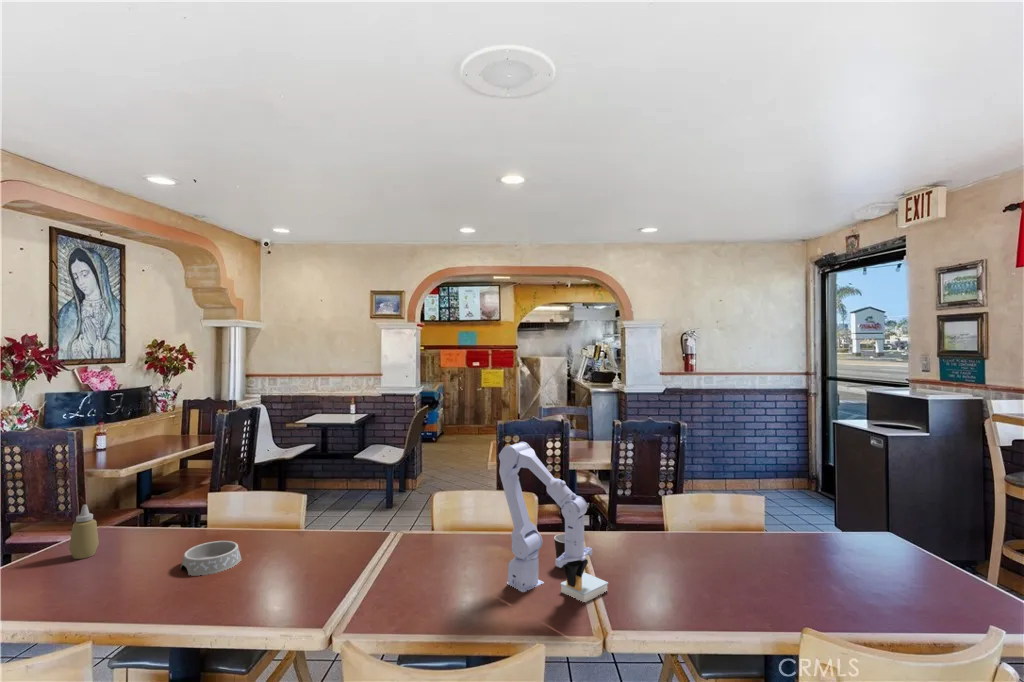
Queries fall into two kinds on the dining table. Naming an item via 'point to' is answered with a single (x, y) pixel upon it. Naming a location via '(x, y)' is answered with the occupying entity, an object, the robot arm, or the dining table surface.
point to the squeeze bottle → (84, 535)
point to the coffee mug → (559, 545)
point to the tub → (581, 597)
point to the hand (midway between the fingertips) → (574, 584)
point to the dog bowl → (211, 558)
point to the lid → (585, 584)
